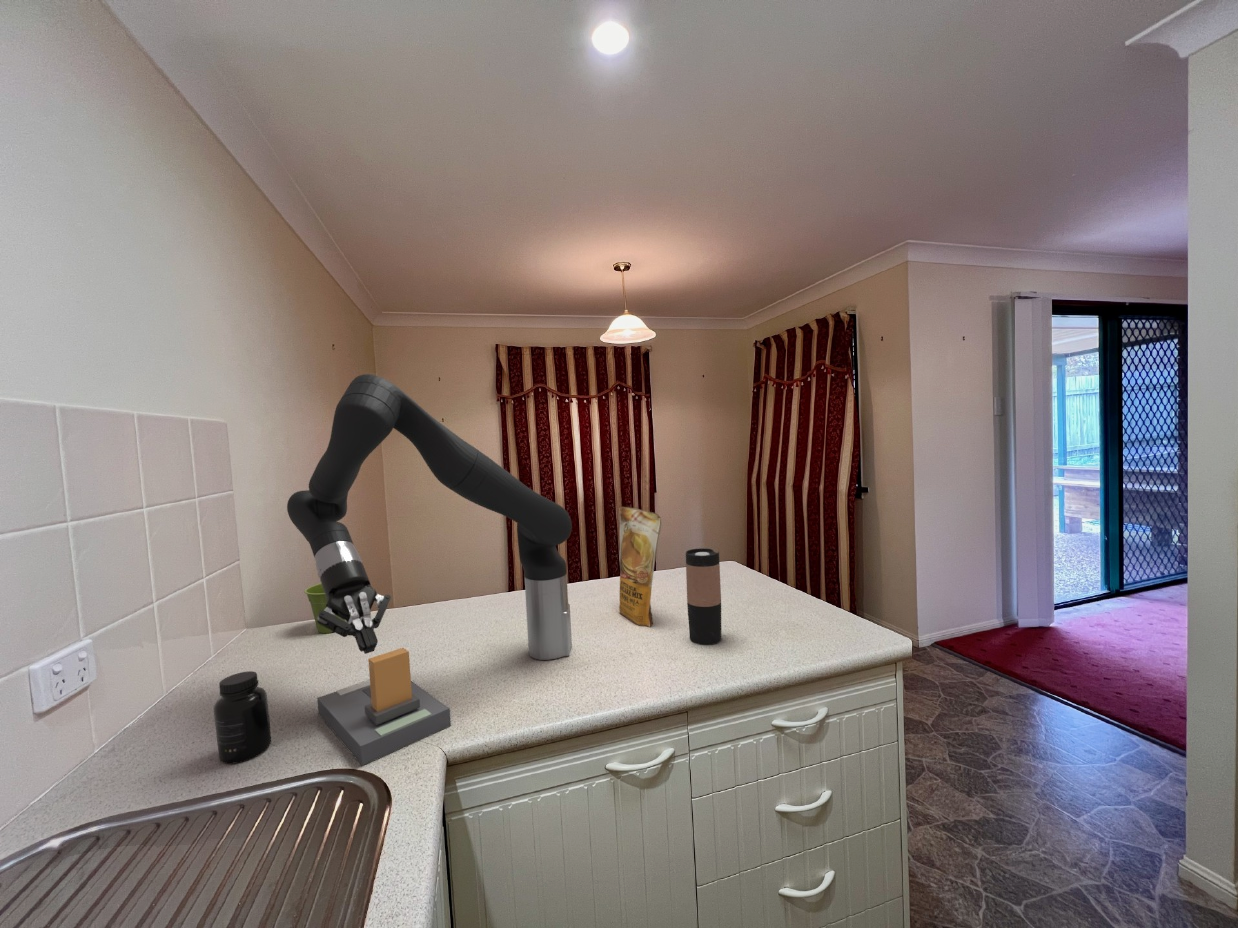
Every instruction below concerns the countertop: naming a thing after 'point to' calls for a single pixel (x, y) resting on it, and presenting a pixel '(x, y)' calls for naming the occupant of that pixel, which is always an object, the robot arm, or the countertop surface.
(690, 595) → the travel mug
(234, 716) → the supplement bottle
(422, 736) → the switch console
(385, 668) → the handle
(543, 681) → the countertop surface
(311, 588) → the plant pot
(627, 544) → the pancake mix bag
